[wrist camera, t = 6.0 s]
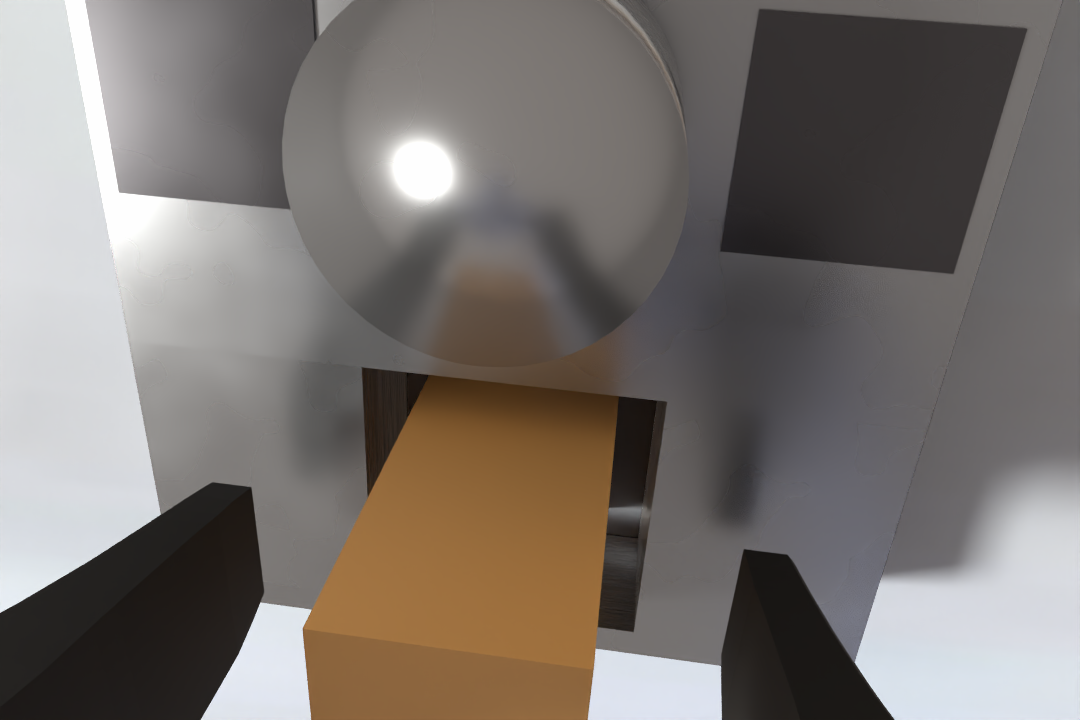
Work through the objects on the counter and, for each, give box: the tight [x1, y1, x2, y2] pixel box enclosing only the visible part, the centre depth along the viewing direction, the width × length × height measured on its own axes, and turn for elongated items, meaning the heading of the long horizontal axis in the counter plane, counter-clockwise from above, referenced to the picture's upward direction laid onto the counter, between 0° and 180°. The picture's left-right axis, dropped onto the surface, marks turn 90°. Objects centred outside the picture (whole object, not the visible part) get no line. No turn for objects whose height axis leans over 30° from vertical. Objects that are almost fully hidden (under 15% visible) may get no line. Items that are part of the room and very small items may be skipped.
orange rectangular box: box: [303, 375, 619, 720], centre depth 13 cm, size 3×3×7 cm
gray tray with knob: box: [65, 0, 1063, 666], centre depth 12 cm, size 12×12×6 cm
